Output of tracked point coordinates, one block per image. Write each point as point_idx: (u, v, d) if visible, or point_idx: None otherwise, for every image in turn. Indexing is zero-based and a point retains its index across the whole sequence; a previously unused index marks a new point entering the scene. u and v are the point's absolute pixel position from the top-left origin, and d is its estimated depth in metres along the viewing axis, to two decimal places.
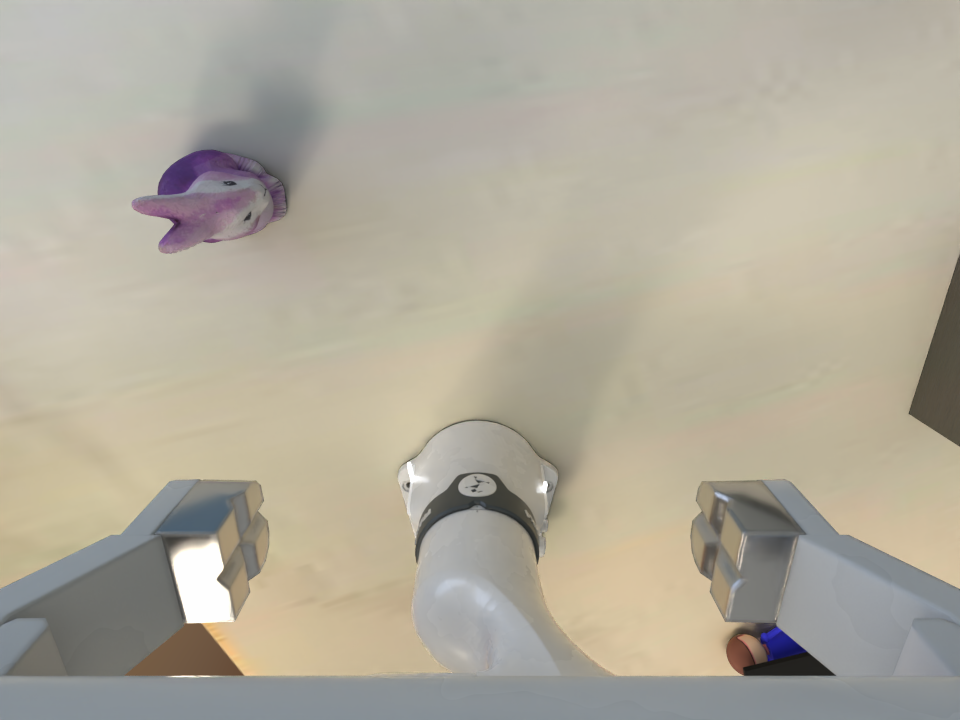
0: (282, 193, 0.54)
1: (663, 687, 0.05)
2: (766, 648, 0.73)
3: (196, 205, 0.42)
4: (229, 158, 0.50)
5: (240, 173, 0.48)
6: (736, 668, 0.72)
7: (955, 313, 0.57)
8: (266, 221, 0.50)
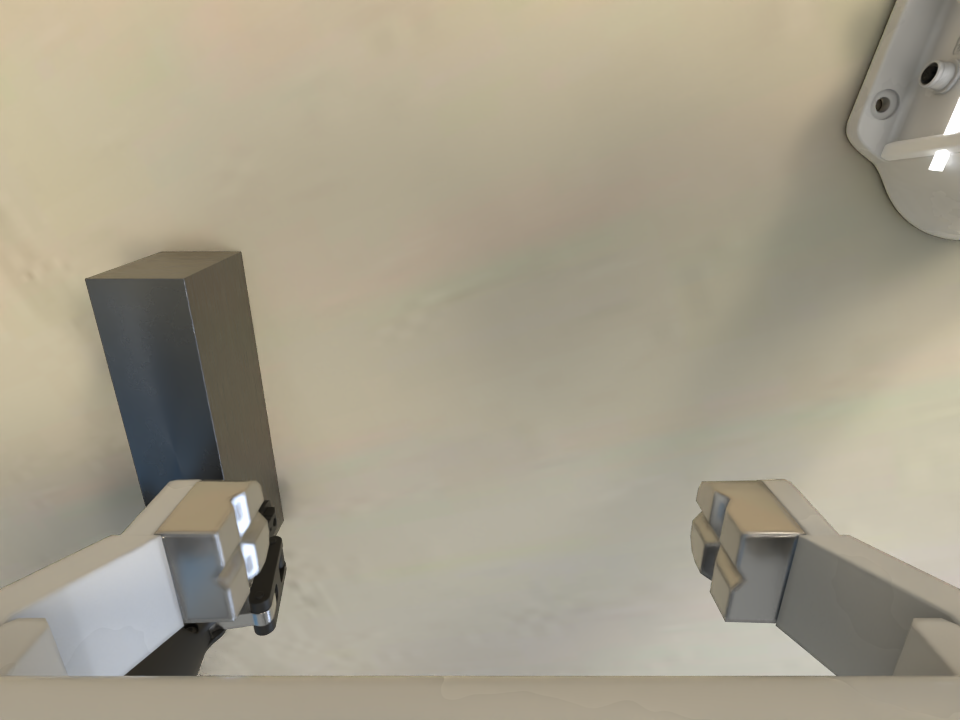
0: None
1: (663, 687, 0.05)
2: None
3: None
4: None
5: None
6: None
7: (258, 424, 0.41)
8: None
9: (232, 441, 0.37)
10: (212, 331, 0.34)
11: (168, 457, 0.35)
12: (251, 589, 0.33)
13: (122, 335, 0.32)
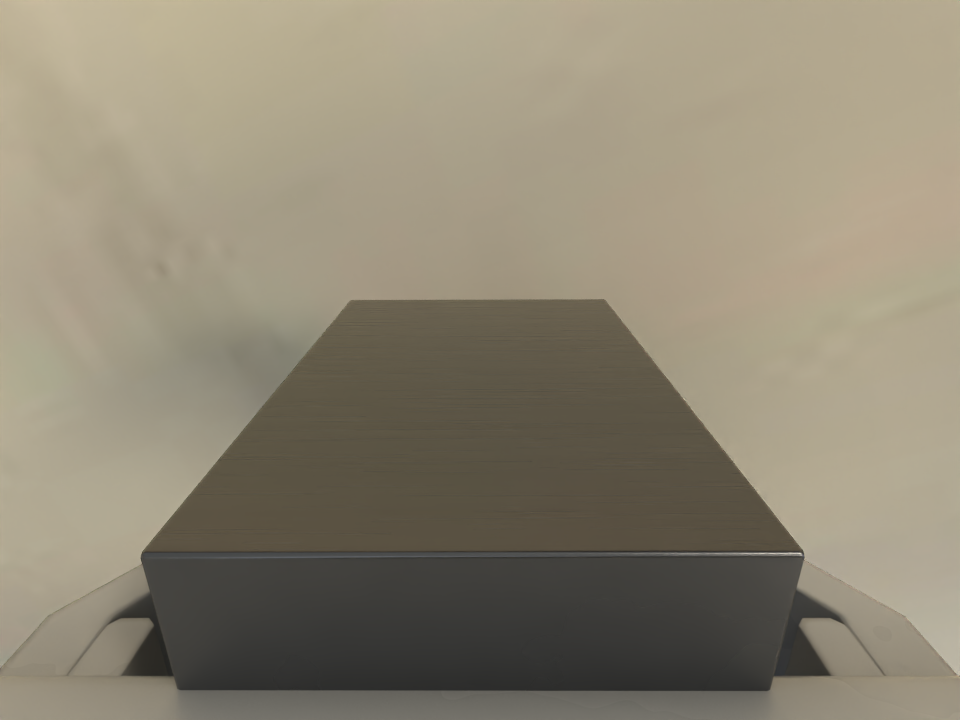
0: None
1: None
2: None
3: None
4: None
5: None
6: None
7: None
8: None
9: None
10: None
11: None
12: None
13: None
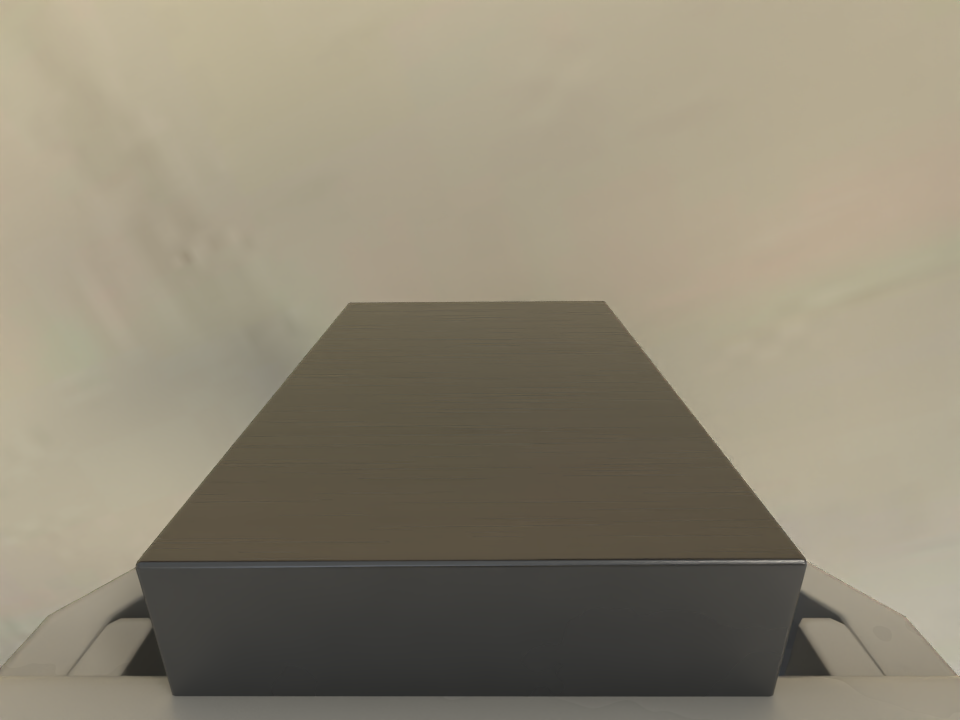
0: None
1: None
2: None
3: None
4: None
5: None
6: None
7: None
8: None
9: None
10: None
11: None
12: None
13: None
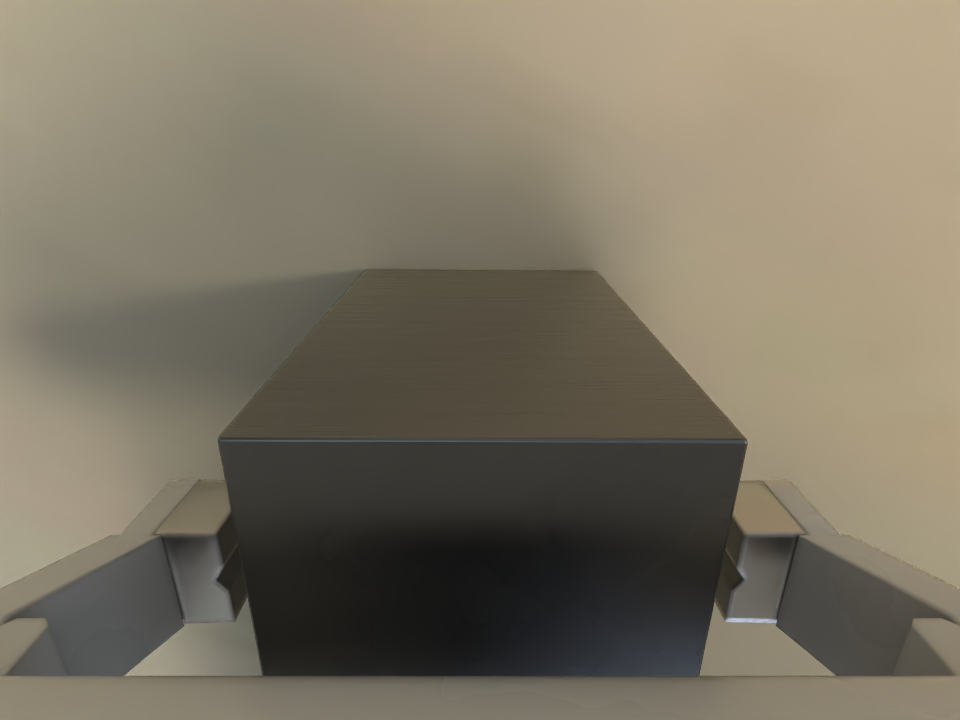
0: None
1: (663, 687, 0.05)
2: None
3: None
4: None
5: None
6: None
7: None
8: None
9: None
10: None
11: None
12: None
13: (368, 671, 0.07)
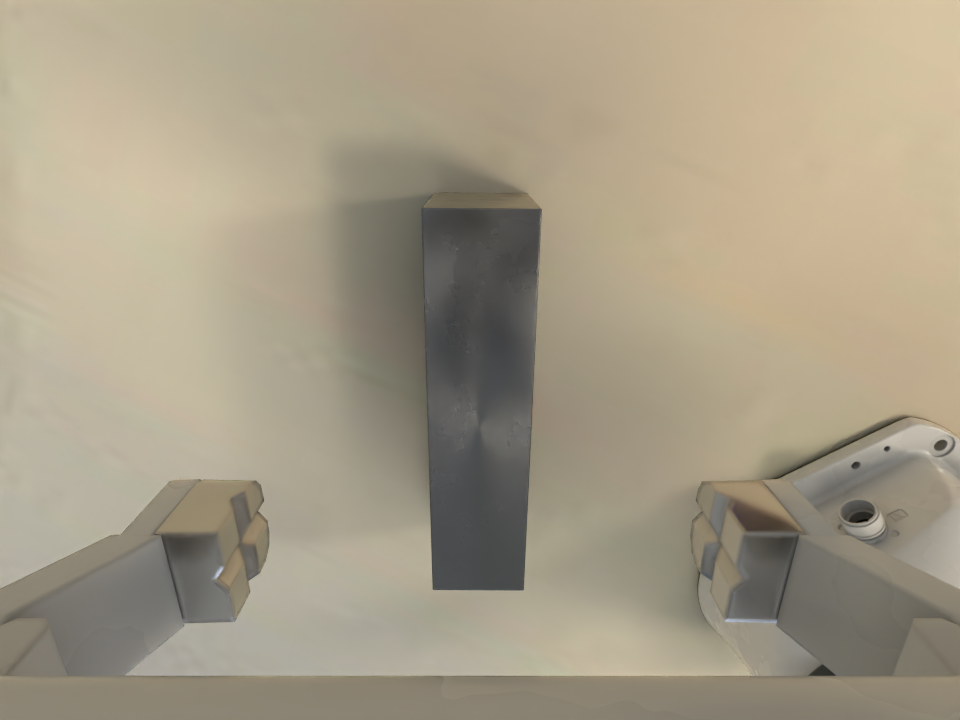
0: None
1: (663, 687, 0.05)
2: None
3: None
4: None
5: None
6: None
7: None
8: None
9: None
10: None
11: (470, 429, 0.30)
12: None
13: (451, 279, 0.27)
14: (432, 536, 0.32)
